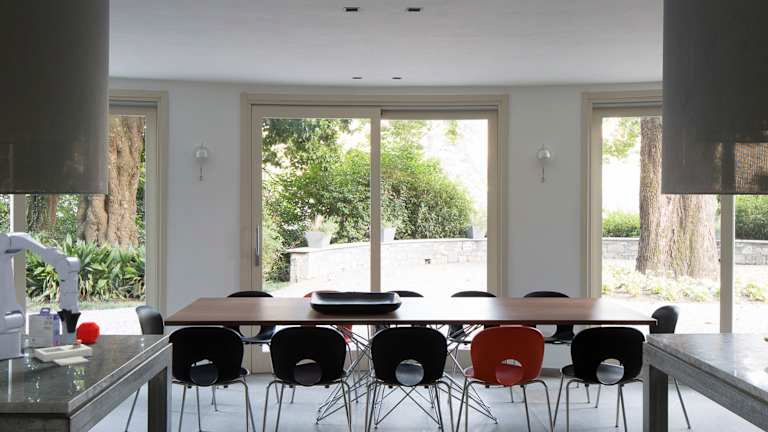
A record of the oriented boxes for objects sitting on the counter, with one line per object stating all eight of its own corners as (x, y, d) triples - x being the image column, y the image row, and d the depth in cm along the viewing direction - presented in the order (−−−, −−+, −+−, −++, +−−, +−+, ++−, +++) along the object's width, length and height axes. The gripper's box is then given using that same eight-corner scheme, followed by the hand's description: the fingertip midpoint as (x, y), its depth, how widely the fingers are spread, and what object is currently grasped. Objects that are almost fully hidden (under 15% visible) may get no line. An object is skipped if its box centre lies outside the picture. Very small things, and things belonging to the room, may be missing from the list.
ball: (79, 340, 285) (79, 321, 285) (100, 340, 286) (100, 320, 286) (74, 344, 277) (74, 324, 277) (96, 343, 278) (96, 324, 278)
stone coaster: (60, 365, 240) (60, 364, 240) (52, 361, 247) (52, 359, 247) (88, 362, 246) (88, 360, 246) (80, 357, 253) (80, 356, 253)
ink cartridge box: (60, 344, 277) (60, 307, 277) (53, 347, 271) (53, 309, 271) (35, 344, 277) (35, 307, 277) (27, 347, 272) (27, 309, 271)
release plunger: (73, 353, 257) (73, 341, 256) (70, 352, 259) (70, 340, 259) (82, 352, 259) (82, 340, 259) (80, 351, 261) (79, 339, 261)
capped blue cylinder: (63, 343, 244) (63, 320, 244) (60, 341, 248) (60, 319, 247) (77, 342, 247) (77, 319, 246) (74, 340, 250) (74, 317, 250)
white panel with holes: (44, 361, 246) (44, 354, 246) (34, 356, 255) (34, 349, 255) (92, 355, 256) (92, 348, 256) (81, 350, 266) (81, 343, 266)
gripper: (87, 293, 244) (88, 333, 244) (74, 289, 255) (74, 328, 255) (65, 294, 239) (66, 335, 239) (52, 291, 250) (53, 330, 250)
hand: (69, 332), depth 247 cm, fingers closed on capped blue cylinder, 4 cm apart
